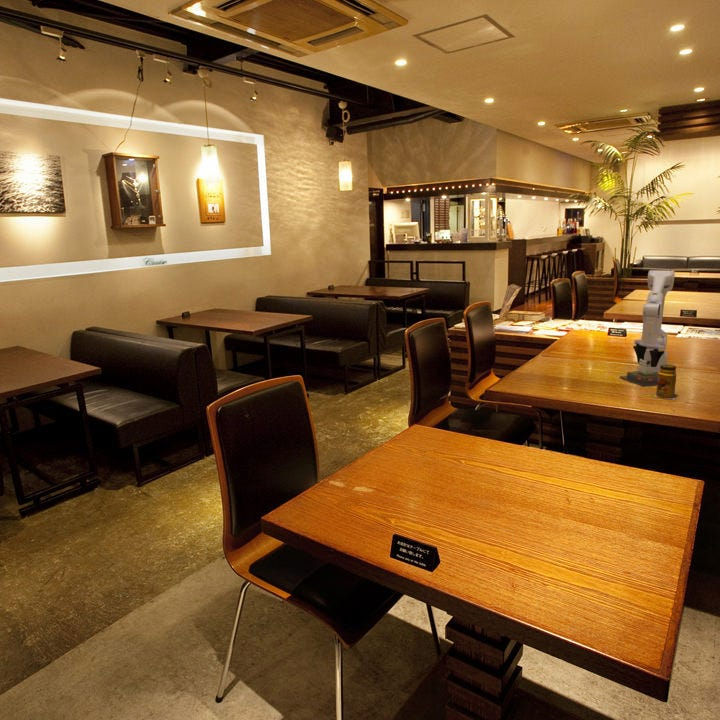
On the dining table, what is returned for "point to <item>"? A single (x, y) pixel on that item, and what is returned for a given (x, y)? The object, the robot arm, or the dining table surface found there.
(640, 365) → the column
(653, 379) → the housing
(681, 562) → the dining table surface
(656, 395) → the condiment
